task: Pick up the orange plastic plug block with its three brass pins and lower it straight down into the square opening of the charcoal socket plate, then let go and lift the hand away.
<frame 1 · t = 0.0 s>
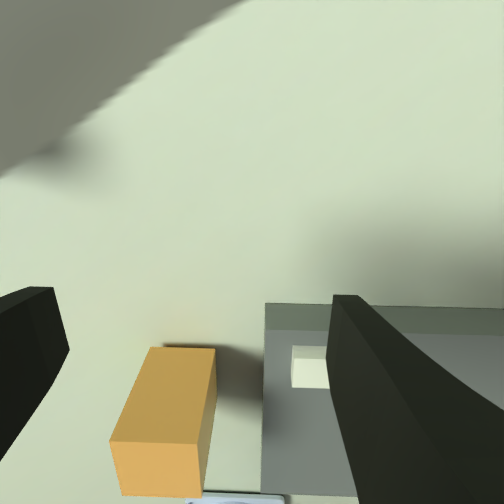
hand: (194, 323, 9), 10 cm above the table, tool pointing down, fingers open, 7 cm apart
plug: (186, 365, 23), on the table
socket plate: (397, 394, 24), on the table
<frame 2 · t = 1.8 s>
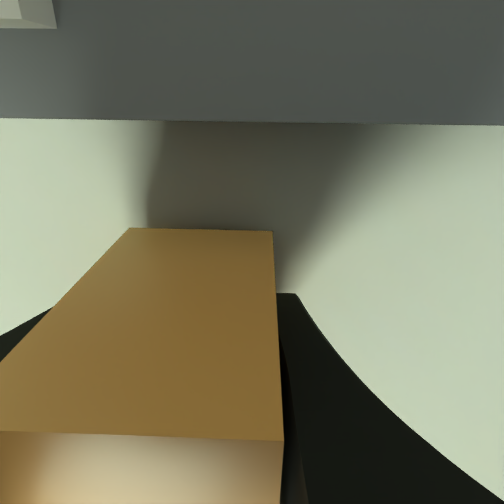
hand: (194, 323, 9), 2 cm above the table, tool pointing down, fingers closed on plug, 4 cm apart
plug: (206, 281, 11), on the table, touching gripper
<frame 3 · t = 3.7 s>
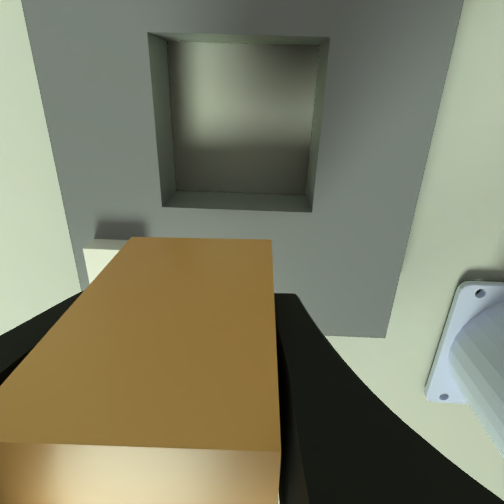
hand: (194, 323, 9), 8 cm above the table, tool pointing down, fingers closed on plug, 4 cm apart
plug: (207, 287, 11), point 6 cm above the table, touching gripper
socket plate: (241, 124, 15), on the table
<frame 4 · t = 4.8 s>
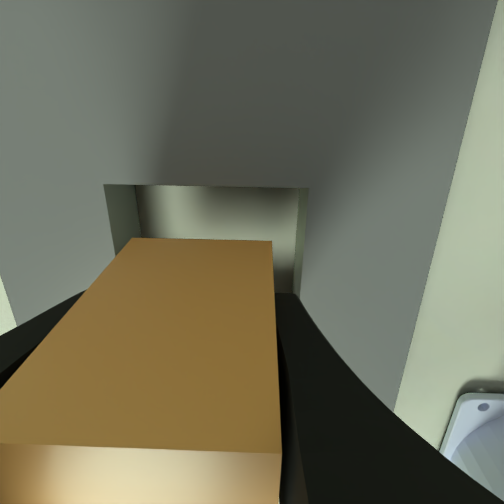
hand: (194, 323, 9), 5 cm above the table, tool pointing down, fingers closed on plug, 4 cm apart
plug: (207, 288, 11), point 3 cm above the table, touching gripper
socket plate: (218, 245, 14), on the table
when the fingers open (4 cm above the table, at t = 5.6 s): plug drops 1 cm, resting in socket plate.
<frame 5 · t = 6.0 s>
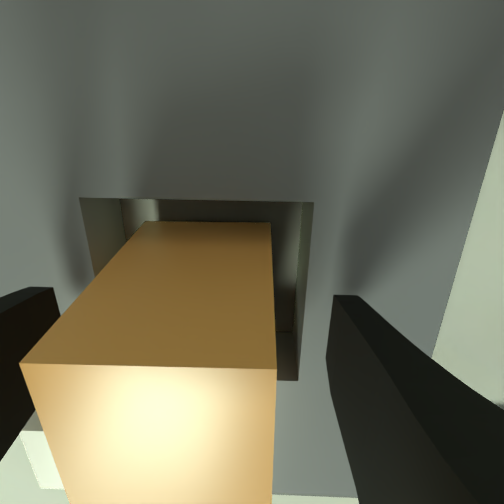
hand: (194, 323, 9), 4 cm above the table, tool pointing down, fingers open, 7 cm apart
plug: (212, 268, 13), resting in socket plate
socket plate: (212, 261, 12), on the table
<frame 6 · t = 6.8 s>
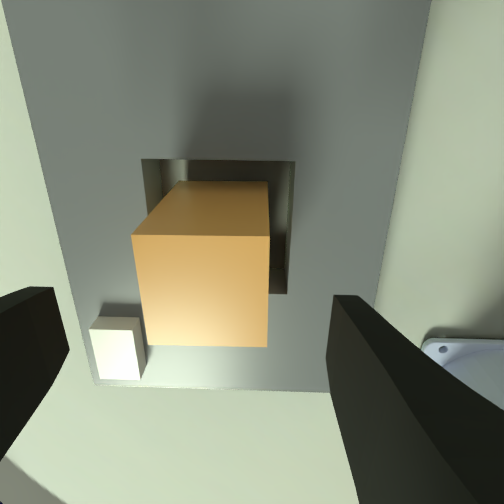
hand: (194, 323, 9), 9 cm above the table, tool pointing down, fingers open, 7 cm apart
plug: (225, 218, 17), resting in socket plate
socket plate: (225, 212, 17), on the table
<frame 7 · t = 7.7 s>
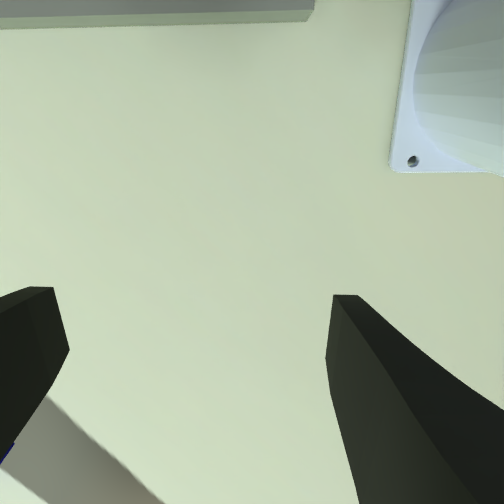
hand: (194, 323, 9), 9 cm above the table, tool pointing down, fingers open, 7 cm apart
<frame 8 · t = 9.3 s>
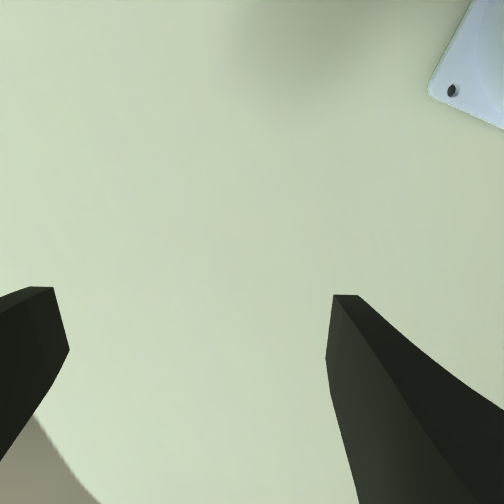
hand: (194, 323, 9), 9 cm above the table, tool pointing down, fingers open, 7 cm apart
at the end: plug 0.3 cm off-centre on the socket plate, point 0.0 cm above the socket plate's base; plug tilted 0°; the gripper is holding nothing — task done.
